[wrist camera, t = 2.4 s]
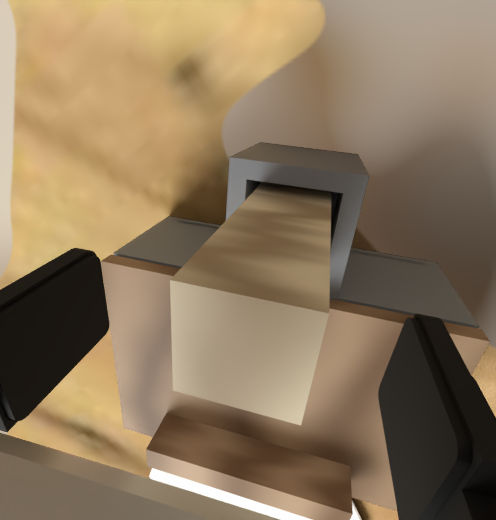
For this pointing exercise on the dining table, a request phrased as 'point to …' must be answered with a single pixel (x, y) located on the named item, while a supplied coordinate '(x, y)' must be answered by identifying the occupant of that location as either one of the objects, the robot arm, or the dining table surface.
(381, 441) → the lid
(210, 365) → the rectangular block
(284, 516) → the plate
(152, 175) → the dining table surface
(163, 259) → the toolbox
